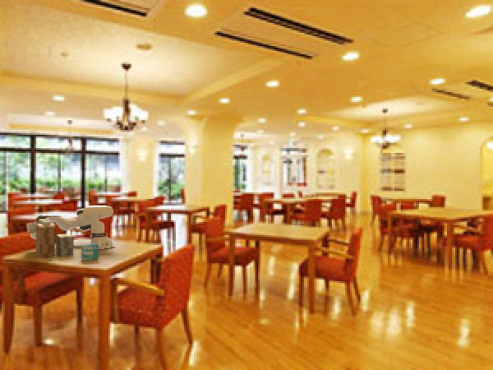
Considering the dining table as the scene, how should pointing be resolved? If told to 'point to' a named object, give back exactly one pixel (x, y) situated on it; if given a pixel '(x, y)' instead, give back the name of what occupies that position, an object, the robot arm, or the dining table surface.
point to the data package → (89, 252)
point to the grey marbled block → (64, 244)
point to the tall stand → (45, 240)
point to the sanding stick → (44, 222)
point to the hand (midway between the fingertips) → (42, 221)
